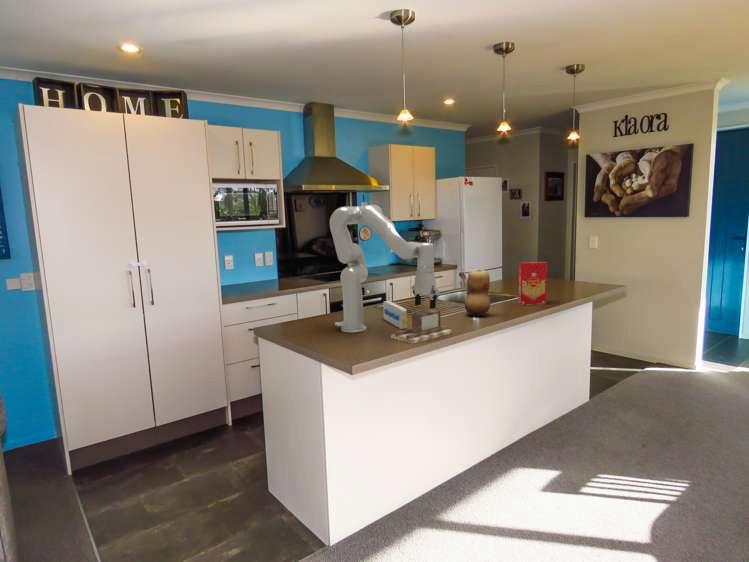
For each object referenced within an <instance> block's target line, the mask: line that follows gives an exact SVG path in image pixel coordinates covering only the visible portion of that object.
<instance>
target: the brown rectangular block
mask: <svg viewBox="0 0 749 562" xmlns="http://www.w3.org/2000/svg"><path fill="white" fill-rule="evenodd" d="M439 327H441V310H439V309H435V308H433V309H428V310H424V311H419V312H415V313H411V329H412V333H414V334H415V333H419V332H423V331H427V330H431V329H435V328H439Z"/></svg>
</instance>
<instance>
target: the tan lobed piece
mask: <svg viewBox="0 0 749 562" xmlns="http://www.w3.org/2000/svg"><path fill="white" fill-rule="evenodd" d="M490 278H491V277H490V273H489V272H488V271H486V270H484V269H481V268H479V269H472V270H470V271H469V273H468V275H467V281H466V288H467V289H466V290H467V294H466V297H465V300H464V309H465V311H466V313H468V314H469V316H470V315H471V316H473V315H476V316H477V317H478V316H483V315H485V314H486V313H487V312H488V311H489V310H490V308H491V299H490V296H489V290H490Z"/></svg>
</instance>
